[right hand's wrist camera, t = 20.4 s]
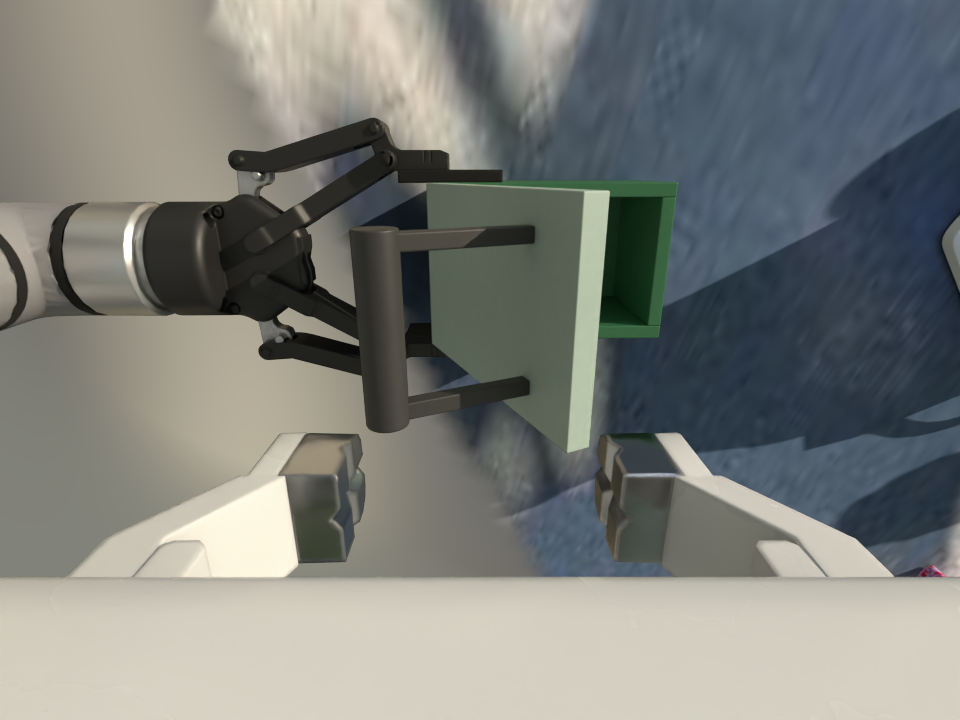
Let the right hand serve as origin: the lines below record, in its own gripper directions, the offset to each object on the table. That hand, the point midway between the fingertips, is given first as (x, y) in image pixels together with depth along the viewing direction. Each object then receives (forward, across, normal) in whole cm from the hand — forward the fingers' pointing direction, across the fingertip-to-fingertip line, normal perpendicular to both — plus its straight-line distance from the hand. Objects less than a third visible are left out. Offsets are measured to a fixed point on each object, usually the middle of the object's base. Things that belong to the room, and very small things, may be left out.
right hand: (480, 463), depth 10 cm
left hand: (+26, -1, 0) cm, 26 cm away
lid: (+16, -1, 0) cm, 16 cm away
